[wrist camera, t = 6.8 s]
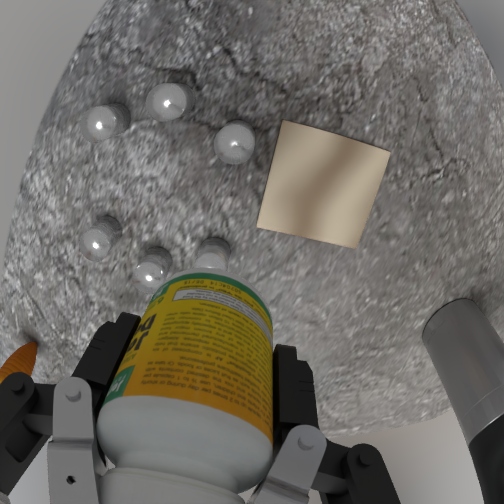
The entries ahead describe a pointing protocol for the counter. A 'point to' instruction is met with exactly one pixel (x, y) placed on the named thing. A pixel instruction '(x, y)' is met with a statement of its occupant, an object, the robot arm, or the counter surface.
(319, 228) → the pad
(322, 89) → the counter surface
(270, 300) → the counter surface
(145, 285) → the spacer posts
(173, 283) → the supplement bottle
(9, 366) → the carrot
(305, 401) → the robot arm
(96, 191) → the counter surface
